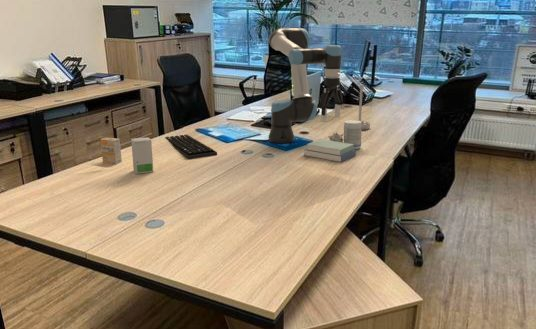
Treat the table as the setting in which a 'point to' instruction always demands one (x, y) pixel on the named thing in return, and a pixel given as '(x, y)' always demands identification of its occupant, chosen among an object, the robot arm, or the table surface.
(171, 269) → the table surface
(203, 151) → the computer keyboard
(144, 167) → the skincare box
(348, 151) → the book pile
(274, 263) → the table surface
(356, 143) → the supplement tub
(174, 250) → the table surface
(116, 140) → the supplement box
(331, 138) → the game die
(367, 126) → the flag stand
